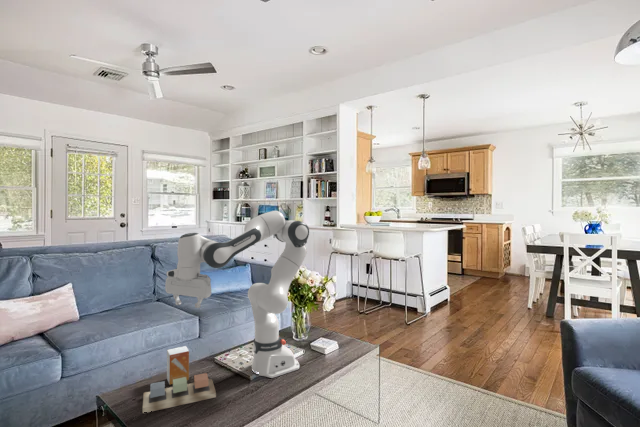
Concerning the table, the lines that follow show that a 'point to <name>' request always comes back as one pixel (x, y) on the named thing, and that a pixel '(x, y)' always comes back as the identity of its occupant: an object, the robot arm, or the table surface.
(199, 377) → the terracotta button
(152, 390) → the slate button
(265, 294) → the robot arm
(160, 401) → the button board
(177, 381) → the sage button
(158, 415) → the table surface
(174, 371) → the small box
